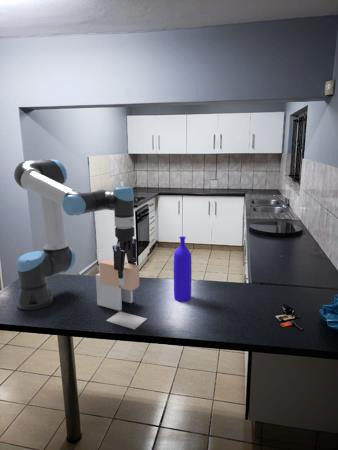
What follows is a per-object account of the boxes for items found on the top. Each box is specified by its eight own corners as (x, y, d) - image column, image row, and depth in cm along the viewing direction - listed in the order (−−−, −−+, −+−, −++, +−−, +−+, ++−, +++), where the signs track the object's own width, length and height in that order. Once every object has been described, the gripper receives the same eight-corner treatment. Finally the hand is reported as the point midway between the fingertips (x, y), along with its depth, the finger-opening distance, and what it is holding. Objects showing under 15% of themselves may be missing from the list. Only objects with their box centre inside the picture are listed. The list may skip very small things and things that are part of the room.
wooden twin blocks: (100, 283, 140) (99, 262, 138) (107, 279, 145) (107, 258, 143) (132, 290, 133) (131, 269, 131) (139, 286, 137) (139, 265, 135)
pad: (106, 321, 139) (106, 320, 139) (119, 312, 147) (119, 311, 147) (134, 329, 133) (134, 328, 132) (146, 319, 140) (146, 318, 140)
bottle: (176, 303, 155) (176, 240, 148) (171, 296, 163) (171, 235, 156) (193, 301, 157) (194, 238, 150) (188, 293, 165) (188, 234, 158)
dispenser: (97, 304, 154) (95, 274, 151) (111, 296, 162) (109, 267, 159) (120, 311, 148) (119, 279, 145) (133, 302, 156) (132, 272, 153)
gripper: (118, 232, 122) (120, 292, 127) (145, 223, 138) (146, 277, 143) (102, 230, 125) (104, 289, 131) (129, 221, 141) (131, 274, 146)
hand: (126, 282), depth 137 cm, fingers closed on wooden twin blocks, 5 cm apart
